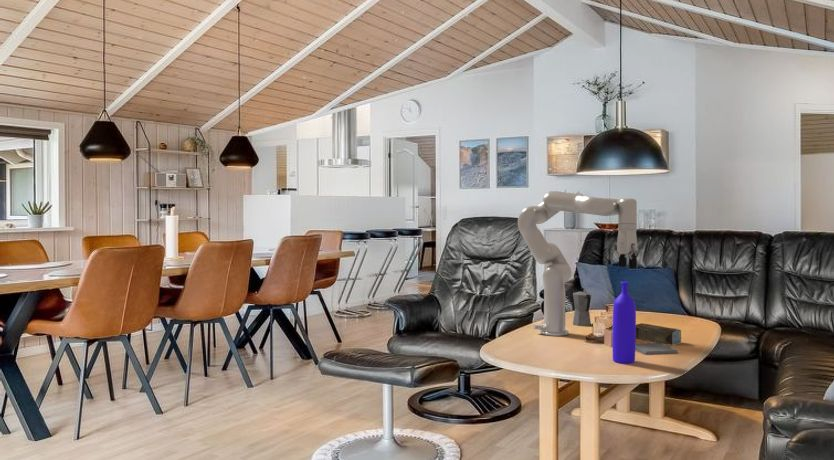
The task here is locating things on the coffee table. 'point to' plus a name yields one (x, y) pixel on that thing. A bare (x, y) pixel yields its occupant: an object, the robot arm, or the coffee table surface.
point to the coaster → (654, 348)
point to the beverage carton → (658, 334)
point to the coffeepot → (582, 308)
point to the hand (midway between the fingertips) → (627, 267)
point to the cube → (608, 337)
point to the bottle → (624, 327)
